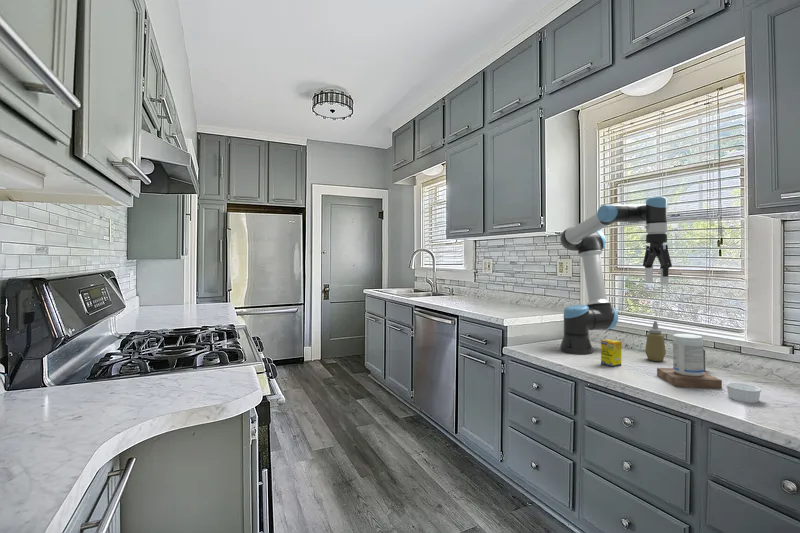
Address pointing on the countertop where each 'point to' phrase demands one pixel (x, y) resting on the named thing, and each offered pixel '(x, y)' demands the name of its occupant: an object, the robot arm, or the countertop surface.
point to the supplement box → (611, 352)
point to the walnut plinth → (689, 379)
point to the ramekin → (743, 392)
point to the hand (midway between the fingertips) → (656, 283)
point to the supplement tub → (688, 354)
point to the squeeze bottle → (655, 344)
